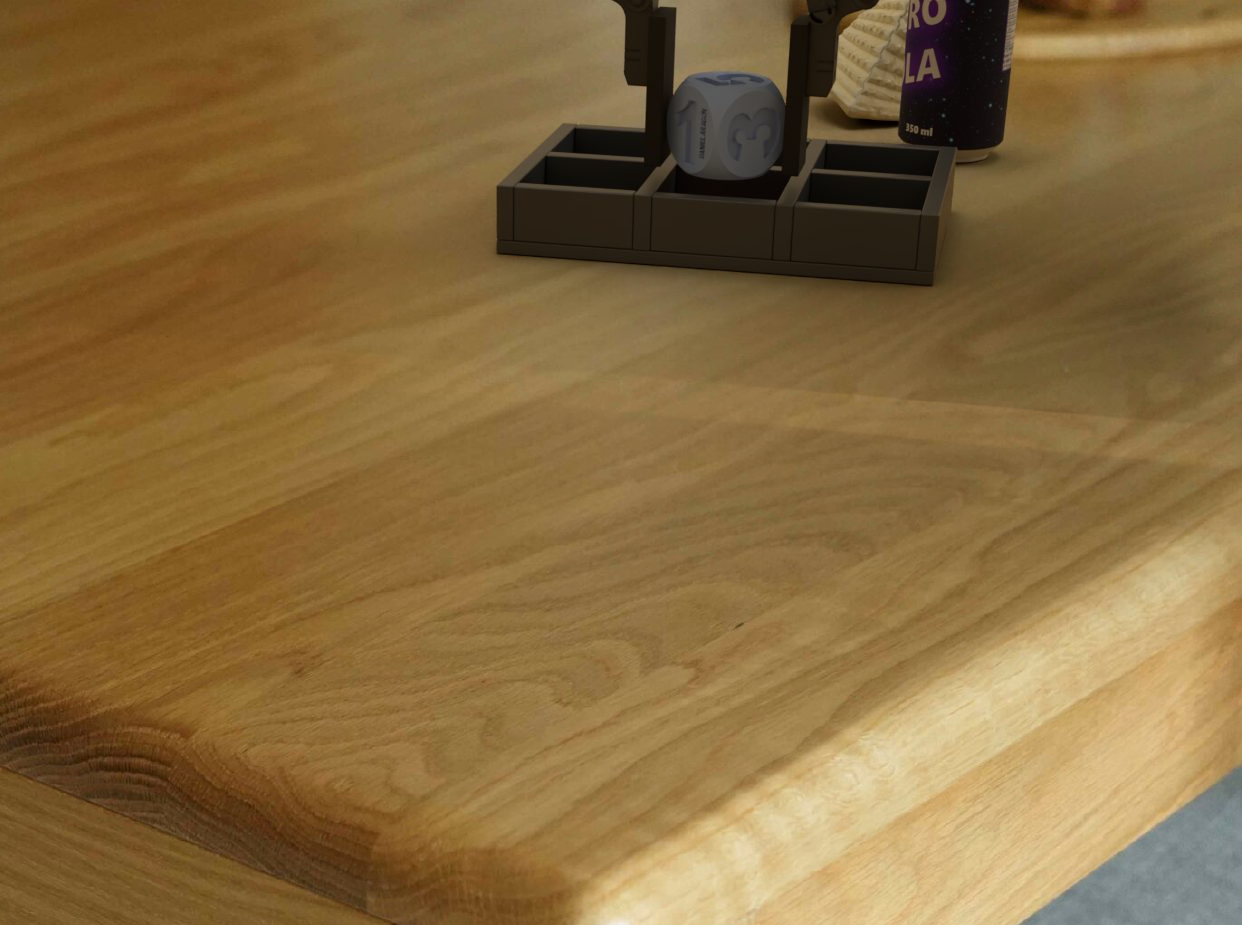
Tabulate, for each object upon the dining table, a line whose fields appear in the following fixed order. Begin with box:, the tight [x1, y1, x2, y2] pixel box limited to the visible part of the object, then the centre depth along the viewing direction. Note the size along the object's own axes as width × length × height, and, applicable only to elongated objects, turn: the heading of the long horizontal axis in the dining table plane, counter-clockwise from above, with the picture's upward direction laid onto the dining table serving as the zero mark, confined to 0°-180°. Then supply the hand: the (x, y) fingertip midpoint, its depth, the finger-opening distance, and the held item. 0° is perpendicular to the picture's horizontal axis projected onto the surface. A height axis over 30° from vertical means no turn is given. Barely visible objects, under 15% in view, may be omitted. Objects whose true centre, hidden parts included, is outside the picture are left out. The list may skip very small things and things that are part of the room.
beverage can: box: [897, 0, 1019, 163], centre depth 110 cm, size 6×6×12 cm
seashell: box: [829, 0, 909, 122], centre depth 121 cm, size 8×8×8 cm
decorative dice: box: [666, 70, 786, 180], centre depth 93 cm, size 4×4×4 cm
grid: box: [495, 122, 957, 286], centre depth 97 cm, size 20×13×3 cm
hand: (724, 163), depth 93 cm, fingers closed on decorative dice, 5 cm apart
